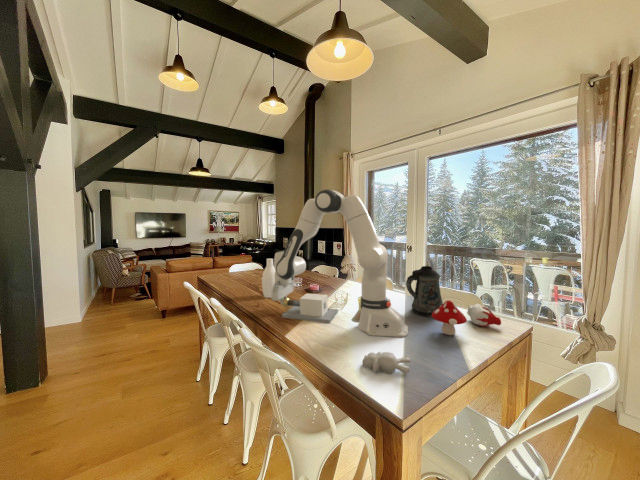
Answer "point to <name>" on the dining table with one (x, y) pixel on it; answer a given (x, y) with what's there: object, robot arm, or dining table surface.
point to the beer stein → (425, 291)
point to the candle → (482, 315)
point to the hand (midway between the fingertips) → (283, 304)
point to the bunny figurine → (385, 362)
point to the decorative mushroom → (449, 317)
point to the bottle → (268, 279)
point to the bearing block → (312, 309)
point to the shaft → (290, 302)
